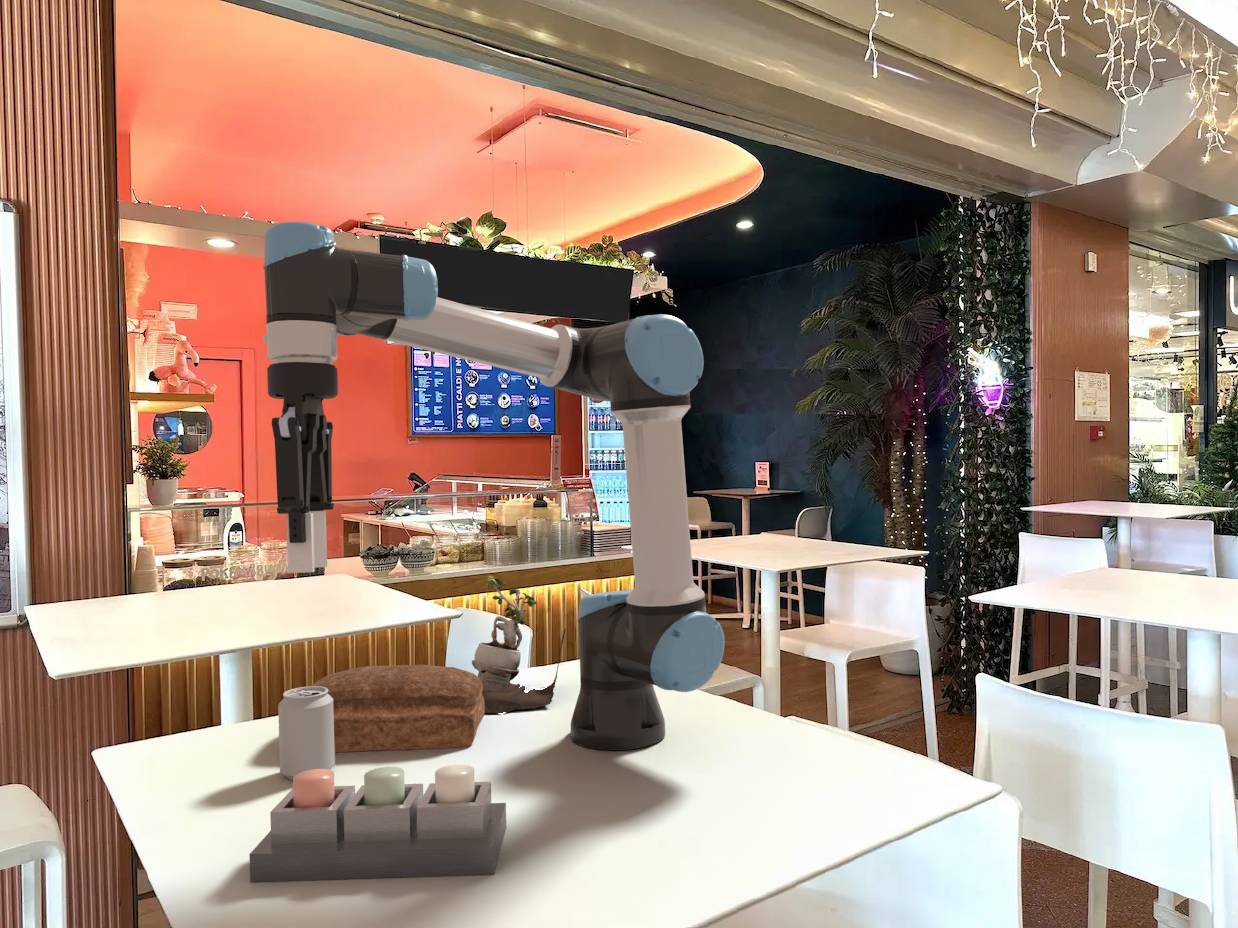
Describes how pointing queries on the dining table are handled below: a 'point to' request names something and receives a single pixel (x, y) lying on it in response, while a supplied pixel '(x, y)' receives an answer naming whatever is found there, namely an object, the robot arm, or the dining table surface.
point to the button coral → (313, 788)
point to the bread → (404, 707)
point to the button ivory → (455, 784)
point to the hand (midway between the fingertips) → (308, 569)
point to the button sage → (384, 786)
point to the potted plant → (507, 660)
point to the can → (306, 730)
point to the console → (381, 838)
